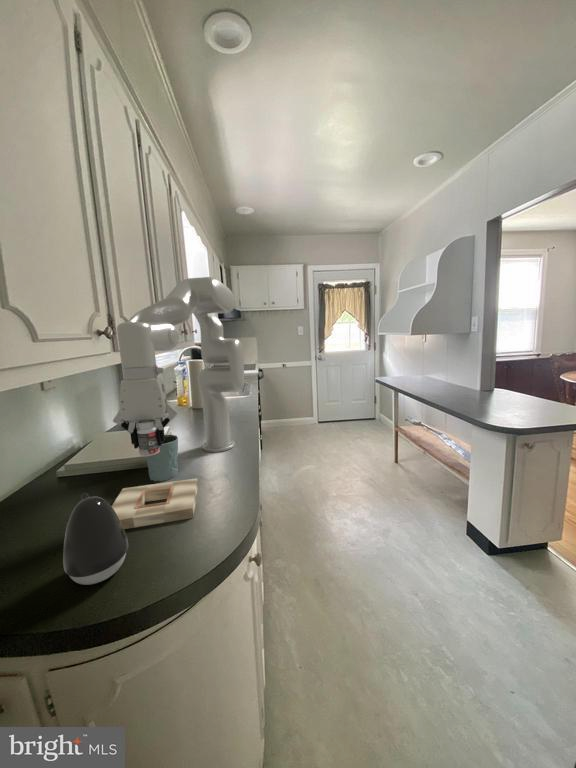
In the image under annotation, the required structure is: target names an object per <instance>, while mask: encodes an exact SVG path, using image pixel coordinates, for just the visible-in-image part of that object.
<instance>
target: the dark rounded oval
mask: <svg viewBox="0 0 576 768" xmlns="http://www.w3.org/2000/svg"><path fill="white" fill-rule="evenodd" d="M80 498H81V500H80V501H78V503H77V504H76V505H75V506H74V508H73V509H72V511H71V512H70V513H71V514H70V516H69V519H68V522H67V524H66V529H65V535H64V541H63V552H62V553H63V554H62V555H63V556H62V557H63V559H62V562H63V569H64V572H65V574H67V575H68V576H69V578H70V579H71V580H72V581H73V582H75V583H77V584H79V585H88V586H90V585H95V584H99V583H102V582H103V581H105V580H107V579H109V578H110V577H112V576H113V575H114V574H116V573H117V571H118V570H120V568H121V566H122V565H123V563H124V561H125V559H126V555H127V551H128V550H129V549H128V548H129V542H128V536H127V534H126V531H125V530H126V529H124V528H123V525H122V523H121V521H120V519H119V517H118V516H117V514H116V512H115V510H114V509H113V508H112V505H111V504H110V503H109V502H108V501H107V500H106V499H104V498H102V497H100V496H89V494H88V493H87V492H83V493H82V494H81V495H80Z"/></svg>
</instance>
